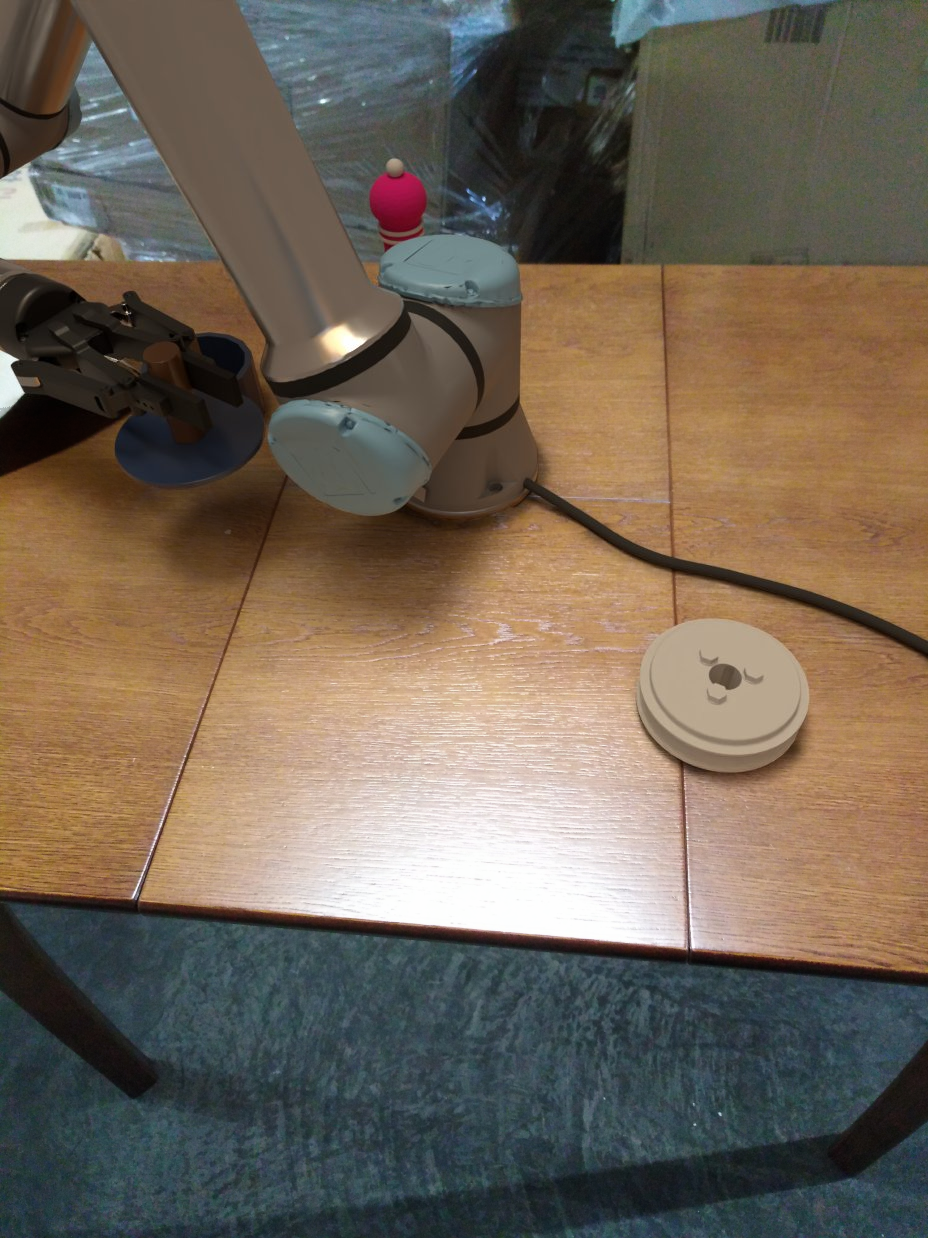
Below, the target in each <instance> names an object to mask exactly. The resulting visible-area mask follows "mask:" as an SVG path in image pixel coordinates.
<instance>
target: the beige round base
mask: <svg viewBox="0 0 928 1238" xmlns="http://www.w3.org/2000/svg"><path fill="white" fill-rule="evenodd" d="M635 698H636V699H635V700H636V701H635V702H636V707H637V711H638V714H639V716H640V719H641V722H642V724H643V725H644V727H645V729H646V731H647V732H648V733H649V735H650V736H651V738H652V739H654V741H655V742H657V744H658V745H660V747H661V748H662V749H664V750H665V751H667V752H668V753H669V754H671V755H672V756H674V757H675V758H677V759H679V760H680V761H682V762H684V763H687V764H689V765H691V766H693V767H695V768H700V769H702V770H707V771H712V772H716V773H717V772H719V773H743V772H748V771H754V770H757V769H760V768H763V767H765V766H767V765H769V764H771V763H773V762H775V761H776V760H778V759H779V758H781V757H782V756H783V755H785V753H786V752H787V751H788V750H789V749H790V747H791V746H792V745H793V743H794V742H795V740H796V738H797V735H798V733H799V732H800V728H801V727H802V725H803V723H804V721H805V719H806V718H807V717H806V716H807V713H808V710H809V705H810V688H809V682H808V678H807V676H806V674H805V671H804V669H803V668H802V666H801V663H800V662H799V661H798V660H797V658H796V657H795V655H794V654H793V653H792V652H791V651H790V649H788V648H787V646H785V644H783V643H781V642H780V641H779V640H778V639H777V638H776V637H774V636H772V635H771V634H769V633H768V632H766V631H764V630H762V629H760V628H758V627H755V626H753V625H750V624H748V623H745V622H741V621H737V620H732V619H727V618H725V619H724V618H715V617H714V618H713V617H712V618H711V617H710V618H698V619H691V620H687V621H684V622H682V623H679V624H676V625H673V626H671V627H670V628H668V629H666V630H665V631H663V632H662V633H660V634H659V636H657V637H656V638H655V639H654V640H653V641H652V642H651V643H650V644H649V646H648V648H647V649H646V651H645V652H644V655H643V657H642V659H641V662H640V667H639V674H638V680H637V683H636V691H635Z"/></svg>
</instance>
